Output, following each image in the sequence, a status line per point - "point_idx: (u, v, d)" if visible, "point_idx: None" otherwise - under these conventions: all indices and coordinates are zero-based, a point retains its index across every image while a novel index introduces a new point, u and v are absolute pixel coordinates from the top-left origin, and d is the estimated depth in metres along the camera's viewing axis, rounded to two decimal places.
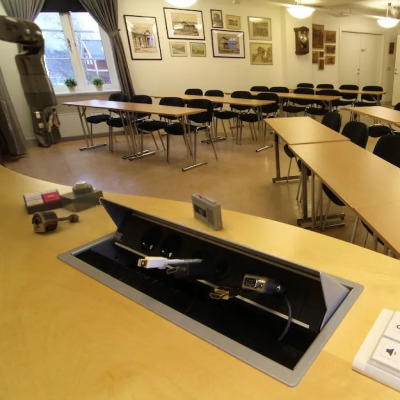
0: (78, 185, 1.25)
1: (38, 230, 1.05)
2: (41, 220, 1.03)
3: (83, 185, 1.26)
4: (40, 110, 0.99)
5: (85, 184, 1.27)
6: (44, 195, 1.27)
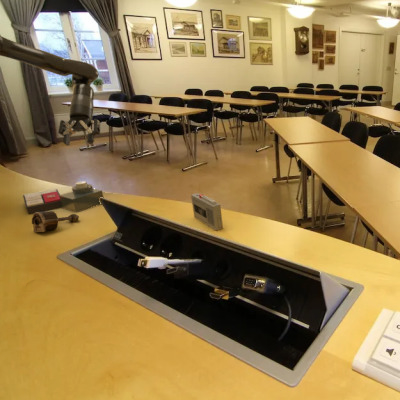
0: (78, 185, 1.25)
1: (38, 230, 1.05)
2: (41, 220, 1.03)
3: (83, 185, 1.26)
4: None
5: (85, 184, 1.27)
6: (44, 195, 1.27)
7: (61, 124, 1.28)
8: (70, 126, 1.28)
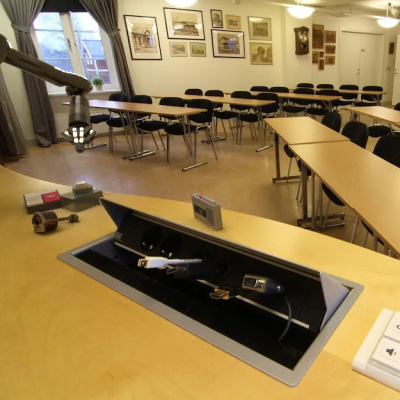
0: (78, 185, 1.25)
1: (38, 230, 1.05)
2: (41, 220, 1.03)
3: (83, 185, 1.26)
4: (91, 129, 1.36)
5: (85, 184, 1.27)
6: (44, 195, 1.27)
7: (64, 135, 1.31)
8: (75, 133, 1.32)
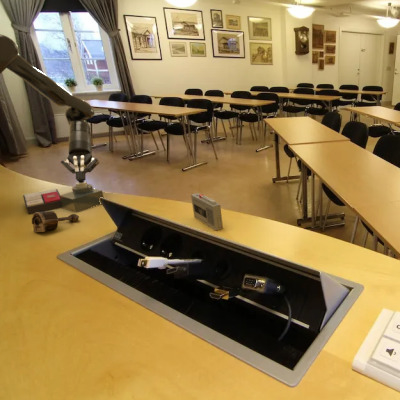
0: (78, 185, 1.25)
1: (38, 230, 1.05)
2: (41, 220, 1.03)
3: (83, 185, 1.26)
4: (92, 156, 1.32)
5: (85, 184, 1.27)
6: (44, 195, 1.27)
7: (65, 164, 1.26)
8: (76, 162, 1.27)
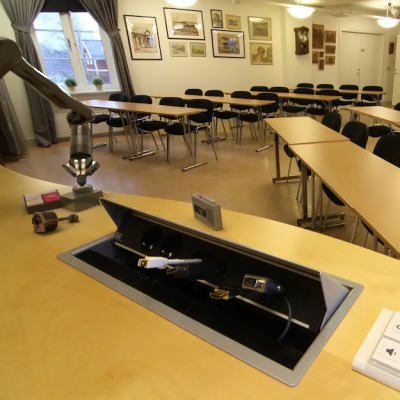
0: None
1: (38, 230, 1.05)
2: (41, 220, 1.03)
3: None
4: (93, 160, 1.32)
5: None
6: (44, 195, 1.27)
7: (66, 167, 1.27)
8: (77, 166, 1.28)
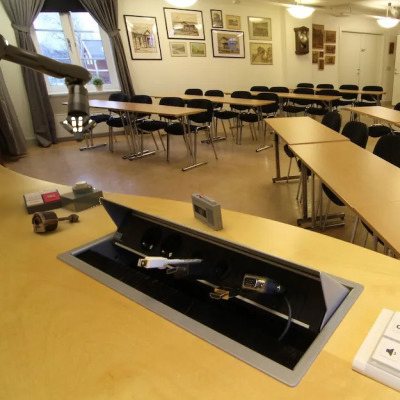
0: (78, 185, 1.25)
1: (38, 230, 1.05)
2: (41, 220, 1.03)
3: (83, 185, 1.26)
4: None
5: (85, 184, 1.27)
6: (44, 195, 1.27)
7: (63, 124, 1.31)
8: (74, 123, 1.32)
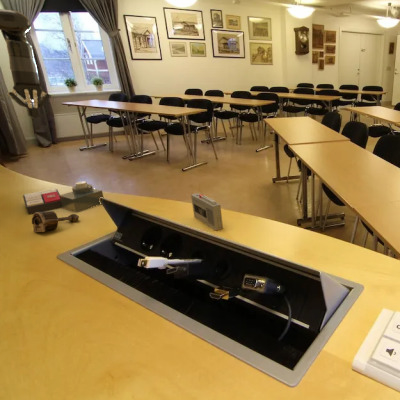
0: (78, 185, 1.25)
1: (38, 230, 1.05)
2: (41, 220, 1.03)
3: (83, 185, 1.26)
4: None
5: (85, 184, 1.27)
6: (44, 195, 1.27)
7: (15, 96, 1.19)
8: (28, 97, 1.22)
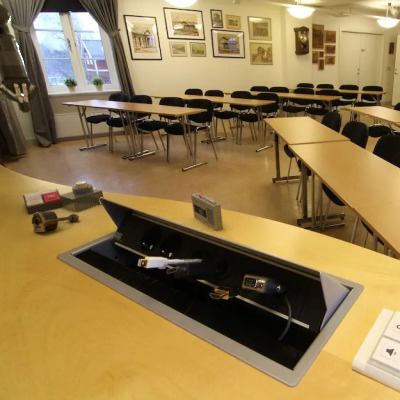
0: (78, 185, 1.25)
1: (38, 230, 1.05)
2: (41, 220, 1.03)
3: (83, 185, 1.26)
4: None
5: (85, 184, 1.27)
6: (44, 195, 1.27)
7: (5, 92, 1.17)
8: (18, 91, 1.20)
